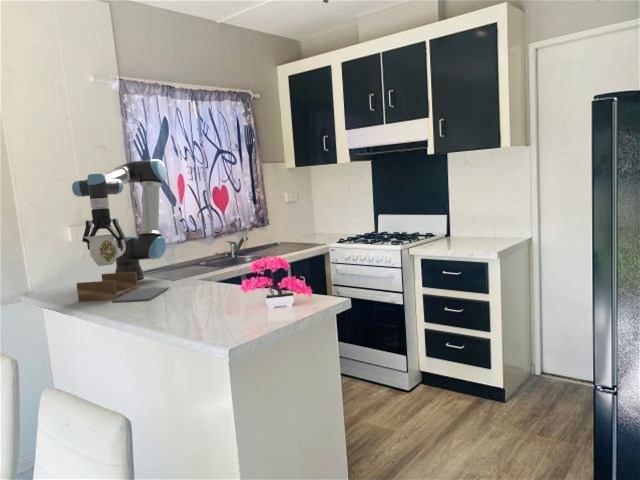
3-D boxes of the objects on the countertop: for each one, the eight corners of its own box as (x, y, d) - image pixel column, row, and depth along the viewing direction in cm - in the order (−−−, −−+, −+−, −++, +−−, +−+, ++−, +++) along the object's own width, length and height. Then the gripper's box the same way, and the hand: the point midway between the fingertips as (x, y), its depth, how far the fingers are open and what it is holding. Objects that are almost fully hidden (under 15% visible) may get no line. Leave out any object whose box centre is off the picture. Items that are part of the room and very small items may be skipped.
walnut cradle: (104, 290, 235) (103, 273, 234) (138, 288, 234) (136, 271, 233) (78, 301, 211) (76, 283, 210) (115, 299, 210) (113, 281, 209)
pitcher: (132, 261, 224) (128, 231, 222) (92, 268, 211) (88, 237, 209) (122, 260, 231) (118, 231, 230) (83, 266, 219) (78, 236, 217)
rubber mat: (135, 290, 227) (135, 289, 227) (169, 288, 226) (169, 287, 226) (112, 302, 203) (112, 300, 203) (149, 300, 202) (149, 298, 202)
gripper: (69, 210, 215) (76, 258, 217) (122, 206, 214) (128, 255, 217) (78, 209, 222) (84, 256, 225) (129, 206, 222) (134, 253, 224)
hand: (105, 256), depth 221 cm, fingers closed on pitcher, 11 cm apart
